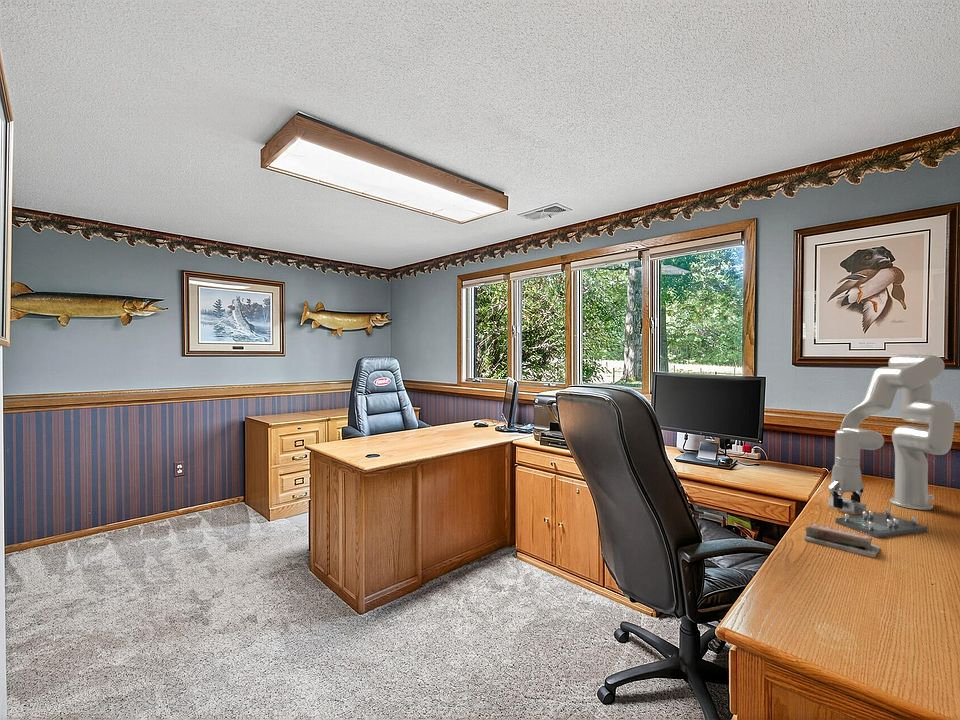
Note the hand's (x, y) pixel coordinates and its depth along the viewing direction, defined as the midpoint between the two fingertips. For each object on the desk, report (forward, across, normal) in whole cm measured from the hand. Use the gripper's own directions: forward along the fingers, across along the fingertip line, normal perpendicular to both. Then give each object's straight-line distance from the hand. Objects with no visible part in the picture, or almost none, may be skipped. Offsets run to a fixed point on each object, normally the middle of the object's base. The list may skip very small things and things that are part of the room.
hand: (846, 506), depth 176 cm
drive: (+2, 0, 0) cm, 2 cm away
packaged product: (+2, +33, +24) cm, 41 cm away
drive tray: (+1, +6, +16) cm, 17 cm away
